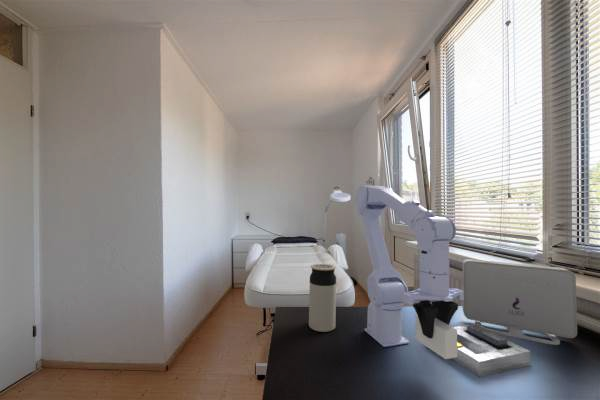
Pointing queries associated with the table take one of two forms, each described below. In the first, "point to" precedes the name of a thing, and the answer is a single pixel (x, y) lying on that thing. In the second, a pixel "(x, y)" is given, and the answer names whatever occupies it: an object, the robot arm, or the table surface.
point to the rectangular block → (439, 339)
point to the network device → (521, 298)
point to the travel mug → (322, 298)
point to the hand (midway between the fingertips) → (434, 335)
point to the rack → (488, 351)
